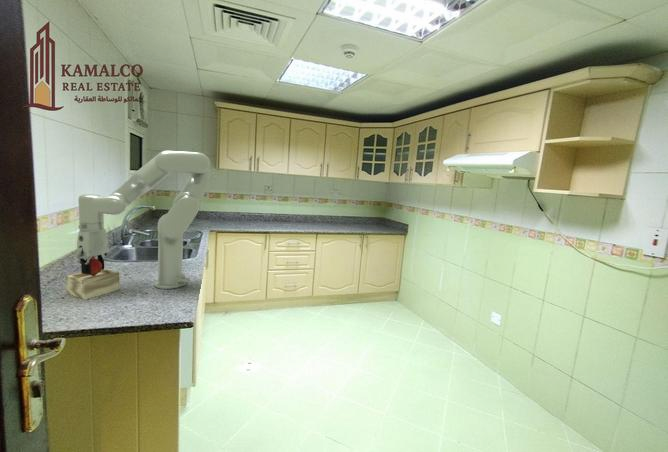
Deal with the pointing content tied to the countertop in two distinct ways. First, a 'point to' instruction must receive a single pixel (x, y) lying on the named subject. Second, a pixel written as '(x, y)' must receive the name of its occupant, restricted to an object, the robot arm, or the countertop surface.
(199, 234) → the countertop surface
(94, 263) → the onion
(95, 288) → the birch box
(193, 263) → the countertop surface
